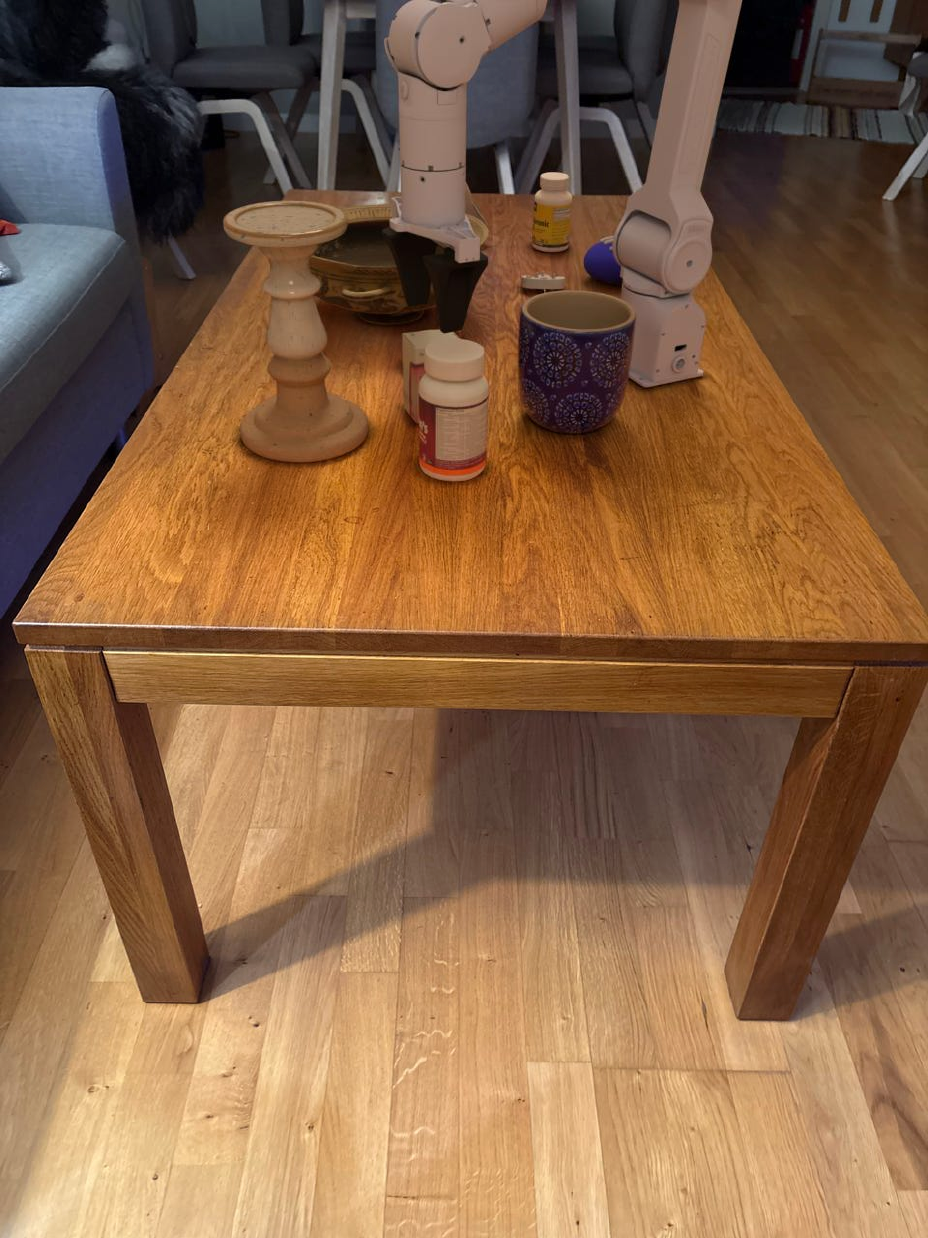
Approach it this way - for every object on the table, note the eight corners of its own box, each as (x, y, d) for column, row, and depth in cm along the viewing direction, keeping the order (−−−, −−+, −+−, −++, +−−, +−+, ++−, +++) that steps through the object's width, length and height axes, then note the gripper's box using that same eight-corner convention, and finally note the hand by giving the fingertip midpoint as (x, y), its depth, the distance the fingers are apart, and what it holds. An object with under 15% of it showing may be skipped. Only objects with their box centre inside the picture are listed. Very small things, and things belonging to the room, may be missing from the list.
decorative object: (596, 241, 122) (578, 229, 131) (591, 289, 125) (574, 274, 134) (677, 243, 123) (654, 231, 132) (670, 291, 126) (648, 276, 135)
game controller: (556, 281, 130) (558, 261, 128) (587, 312, 121) (589, 292, 120) (516, 284, 129) (517, 264, 127) (544, 316, 120) (546, 295, 118)
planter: (640, 411, 99) (655, 303, 92) (595, 454, 92) (608, 340, 85) (544, 386, 103) (552, 281, 97) (495, 426, 96) (499, 315, 89)
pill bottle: (417, 452, 91) (415, 336, 84) (482, 450, 92) (486, 334, 85) (421, 485, 87) (420, 364, 80) (489, 482, 87) (494, 362, 80)
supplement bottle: (525, 243, 143) (528, 172, 137) (557, 239, 145) (562, 169, 139) (542, 254, 139) (547, 181, 133) (575, 250, 141) (581, 178, 135)
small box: (415, 425, 96) (414, 348, 91) (402, 407, 99) (401, 331, 94) (463, 418, 97) (465, 342, 92) (449, 400, 100) (450, 326, 96)
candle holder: (230, 415, 97) (200, 202, 84) (350, 398, 100) (337, 192, 88) (254, 473, 88) (224, 244, 75) (384, 452, 91) (376, 230, 79)
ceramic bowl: (325, 268, 133) (319, 190, 126) (499, 279, 130) (502, 200, 124) (257, 354, 109) (246, 264, 103) (468, 370, 107) (470, 278, 100)
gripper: (358, 149, 88) (366, 298, 96) (426, 188, 78) (428, 350, 86) (429, 143, 91) (430, 288, 99) (503, 179, 80) (498, 338, 89)
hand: (433, 316), depth 93 cm, fingers open, 7 cm apart
